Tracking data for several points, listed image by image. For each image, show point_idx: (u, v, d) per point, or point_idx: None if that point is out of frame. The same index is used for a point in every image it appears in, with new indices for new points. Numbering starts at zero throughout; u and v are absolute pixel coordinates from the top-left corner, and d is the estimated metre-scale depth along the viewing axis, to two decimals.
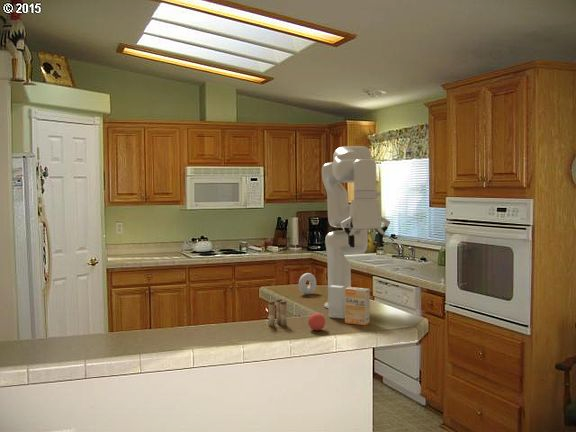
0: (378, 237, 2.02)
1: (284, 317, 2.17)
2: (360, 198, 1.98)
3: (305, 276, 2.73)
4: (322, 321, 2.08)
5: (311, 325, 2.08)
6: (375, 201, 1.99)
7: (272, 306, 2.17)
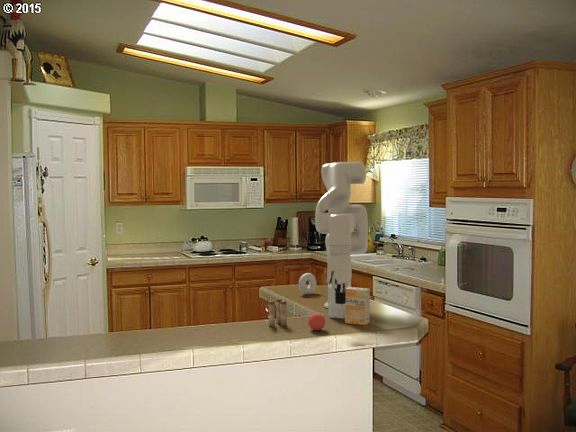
0: None
1: (284, 317, 2.17)
2: (343, 253, 2.00)
3: (305, 276, 2.73)
4: (322, 321, 2.08)
5: (311, 325, 2.08)
6: (349, 255, 2.05)
7: (272, 306, 2.17)
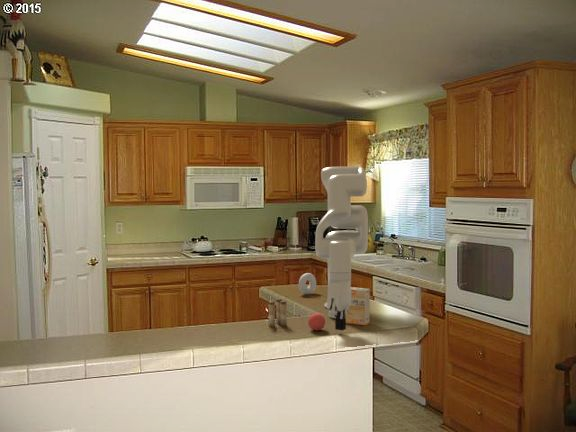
0: None
1: (284, 317, 2.17)
2: (343, 281, 2.01)
3: (305, 276, 2.73)
4: (322, 321, 2.08)
5: (311, 325, 2.08)
6: (349, 281, 2.06)
7: (272, 306, 2.17)
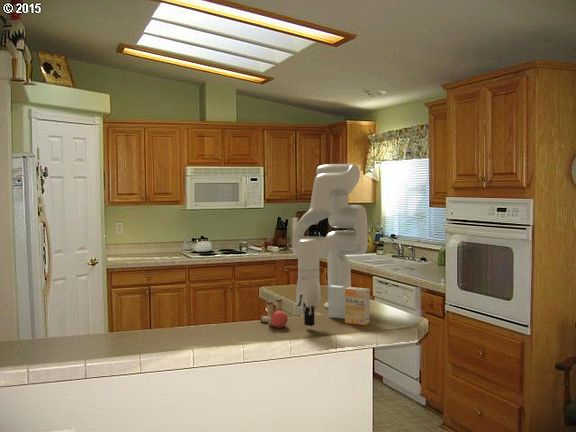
0: None
1: None
2: (312, 278, 2.07)
3: None
4: None
5: (275, 321, 2.12)
6: (318, 278, 2.12)
7: (270, 306, 2.16)
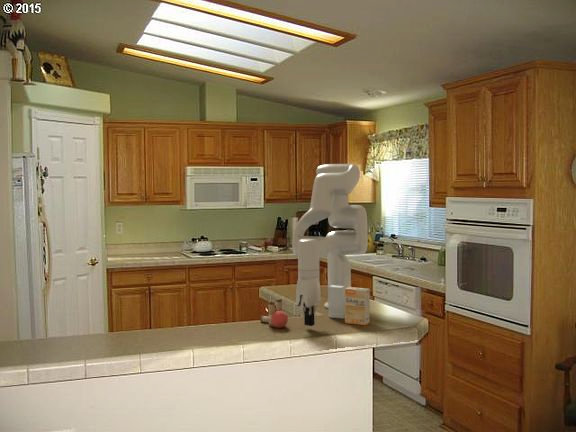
0: None
1: None
2: (312, 278, 2.07)
3: None
4: None
5: (276, 322, 2.12)
6: (318, 278, 2.12)
7: (272, 306, 2.17)
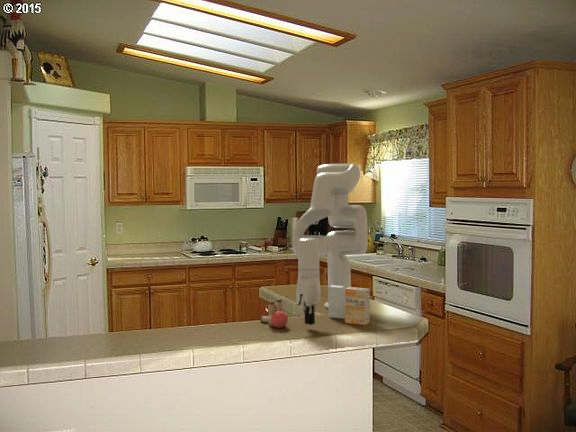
0: None
1: None
2: (312, 277, 2.08)
3: None
4: None
5: (276, 322, 2.12)
6: None
7: (272, 306, 2.17)
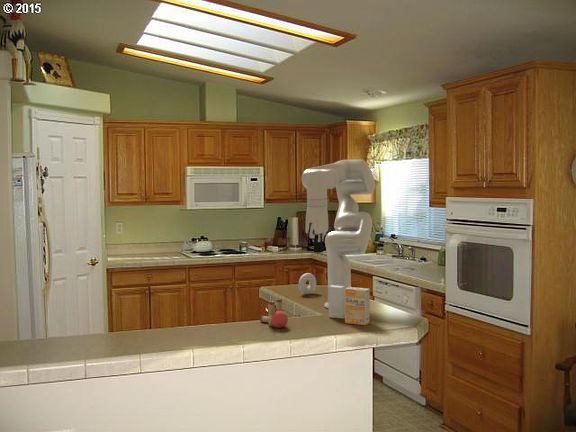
0: None
1: None
2: (320, 206, 2.19)
3: (305, 276, 2.73)
4: None
5: (276, 322, 2.12)
6: (326, 208, 2.24)
7: (272, 306, 2.17)
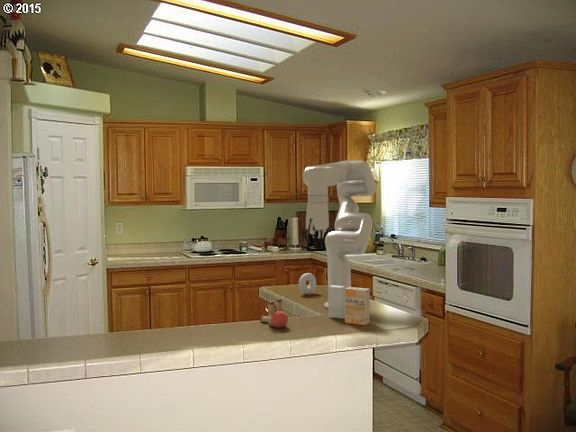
0: None
1: None
2: (321, 202, 2.20)
3: (305, 276, 2.73)
4: None
5: (276, 322, 2.12)
6: (326, 204, 2.24)
7: (272, 306, 2.17)
